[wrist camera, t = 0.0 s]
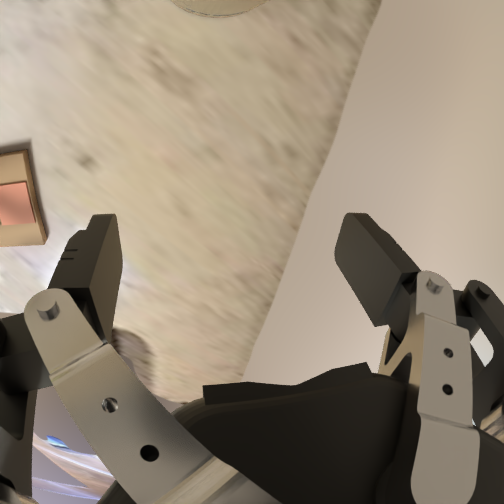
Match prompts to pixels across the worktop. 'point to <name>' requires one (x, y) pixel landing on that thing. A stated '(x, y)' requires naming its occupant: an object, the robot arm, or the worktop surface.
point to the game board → (18, 203)
